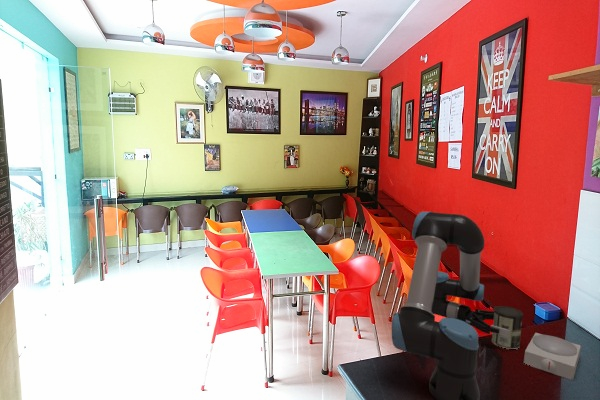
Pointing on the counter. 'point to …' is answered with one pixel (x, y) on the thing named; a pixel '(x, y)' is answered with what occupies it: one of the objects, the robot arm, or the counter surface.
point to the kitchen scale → (553, 355)
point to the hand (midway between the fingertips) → (513, 327)
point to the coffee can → (507, 327)
